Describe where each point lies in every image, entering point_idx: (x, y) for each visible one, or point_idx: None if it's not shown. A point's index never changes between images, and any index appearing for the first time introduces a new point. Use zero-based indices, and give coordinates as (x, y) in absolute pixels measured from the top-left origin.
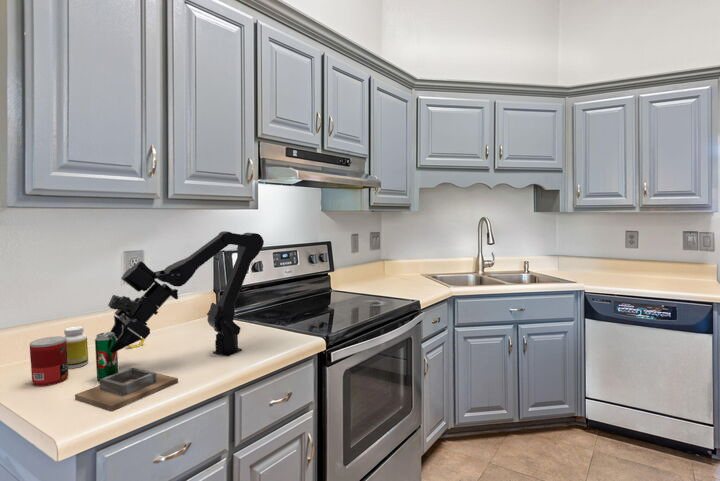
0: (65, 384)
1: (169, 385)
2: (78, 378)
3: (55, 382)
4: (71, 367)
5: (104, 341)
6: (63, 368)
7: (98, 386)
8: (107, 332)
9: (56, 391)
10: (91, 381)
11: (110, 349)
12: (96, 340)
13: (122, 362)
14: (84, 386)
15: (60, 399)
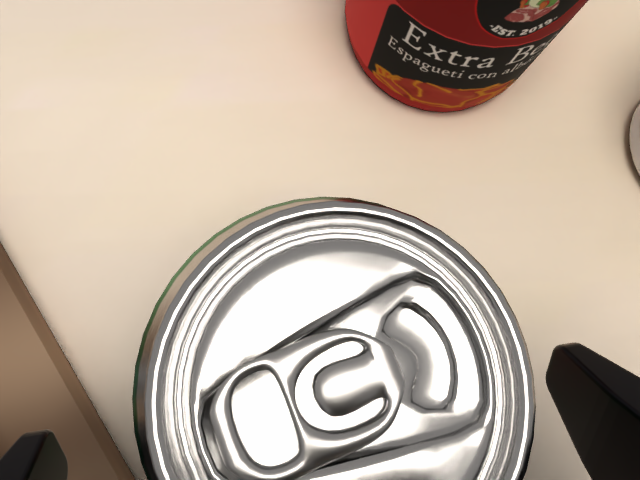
0: (311, 106)
1: None
2: (394, 175)
3: (353, 48)
4: (630, 125)
5: (137, 360)
6: (403, 44)
7: (2, 304)
8: (516, 424)
9: (202, 64)
10: None
11: (15, 448)
12: (241, 221)
13: None
14: (195, 215)
15: (27, 89)
